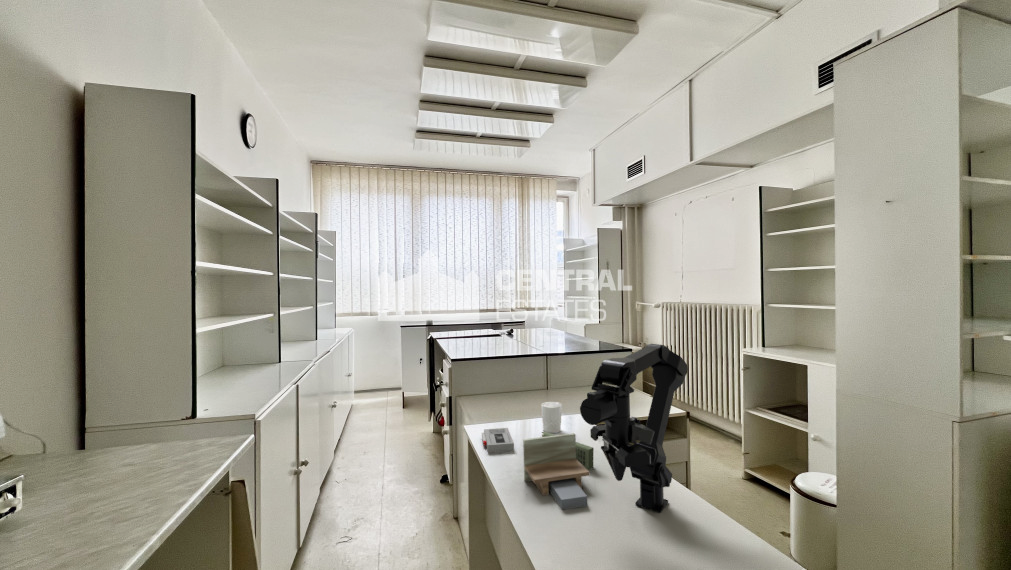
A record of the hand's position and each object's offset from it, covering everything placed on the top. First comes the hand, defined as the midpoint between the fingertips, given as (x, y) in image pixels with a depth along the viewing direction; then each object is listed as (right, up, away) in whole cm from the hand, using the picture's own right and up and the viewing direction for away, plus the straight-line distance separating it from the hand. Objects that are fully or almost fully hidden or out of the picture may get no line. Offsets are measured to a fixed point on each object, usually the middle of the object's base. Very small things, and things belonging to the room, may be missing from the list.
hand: (619, 480), depth 100 cm
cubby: (-12, -11, +20) cm, 26 cm away
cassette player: (-25, -10, +53) cm, 60 cm away
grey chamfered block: (-11, -11, +16) cm, 22 cm away
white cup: (-9, -11, +65) cm, 66 cm away
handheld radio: (-9, -11, +40) cm, 42 cm away
